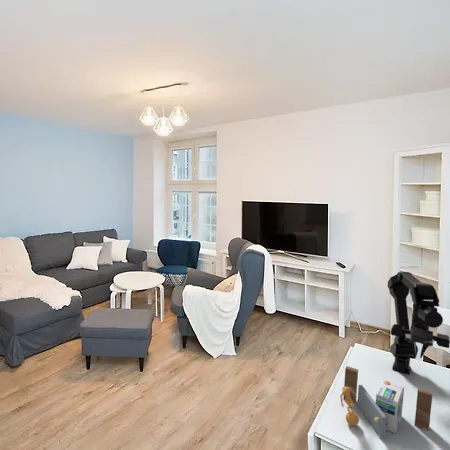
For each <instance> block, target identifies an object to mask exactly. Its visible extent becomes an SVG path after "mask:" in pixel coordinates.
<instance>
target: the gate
mask: <svg viewBox="0 0 450 450" xmlns="http://www.w3.org/2000/svg"><path fill="white" fill-rule="evenodd" d="M356 403H357V405H358V406H359V409H361V411H362V412H363V414H364V415H365V416H366V418H367V420H368V421H369V423H370V424H371V425H372V427H373V428H374V430H375V432H376V433H377V434H378V436H379V438H380V439H385V438H386V429H385V428H386V416H385V415H384V413H383V412H382V411H381V409H380V408H379V407H378V405H377V404H376V400H374V399H373V397H372V396H371V395H370V393H369V392H368V390H367V389H366V388H365V387H364V385H362V384H358V386H357V400H356Z"/></svg>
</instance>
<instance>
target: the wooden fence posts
mask: <svg viewBox="0 0 450 450" xmlns="http://www.w3.org/2000/svg"><path fill="white" fill-rule="evenodd" d="M344 369H345V371H344V383H343V387H350V388H351V389H352V390H353V392H354V393H355V394H356V396H358V378H359V368H355V367H352V366H348V365H346V367H345V368H344ZM353 392H352V391H350V397H351V399H352V401H353V403H354V404H356V403H357V398H356V396H355V394H353ZM433 394H434V393H433V392H432V391H430V390H426V389H422V388H420V387H418V388H417V396H416V405H415V416H414V426H416V427H418V428H421V429H423V430H427V431H430V425H431V423H430V422H431V413H432V405H433V404H432V403H433ZM345 399H346V397H345V395H343V396H342V400H344V401H345Z"/></svg>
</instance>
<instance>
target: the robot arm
mask: <svg viewBox="0 0 450 450" xmlns="http://www.w3.org/2000/svg"><path fill="white" fill-rule="evenodd" d="M387 288H388V291H389V292H388V293H389V294H390V295H391V297H392V298H393V299H394V300H393V301H394V309H395V310H394V311H395V321H396V323H394V324H393V325H392V326H391V329H390V335H391V336H394V338H393V343H392V344H391V345H390V353H391V354H392V357H394V362H393V365H392V370H393V371H397V372H400V373H403V374H407V375H410V374H411V369H412V366H410V363H411V359H415V360H416V358H417V354H418V352H419V347H418V345H417V343H418V344H421V345H422V347H421V350H420V351H421V352H420V356H419V358H420V359H422V358H423V356H424V355H425V352H426V351H427V349H428V348H429V347H433V346H434V342H436V344H437V346H438V347H442V348H446V349H450V336H449V335H447V334H442V333H439V332H437V333H436V335H434V331H431V330H430V328H432V329H433V328H434V329H436V328H439V327H440V326H441V325H443V321H444V319H443V315H442V314H441V313H440V312H438V308H437V307H440V300H439V299H440V298H439V296H438V293H437V290H436V288H435V287H434V285H432V284H431V283H426V282H422V281H420V280H419V279H418V278H416V277H415V276H414V275H413V273H412V272H409V271H408V272H407V271H399V272H397V273H396V274H395V275H393V276H391V277H390V278H389V279H388V280H387ZM409 294H410V297H411V302H413V303H412V311H411V313H412V314H411V315H412V316H411V326H410V320H409V313H408V305H407V304H408V303H407V302H408V301H407V298H408V295H409Z"/></svg>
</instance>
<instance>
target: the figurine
mask: <svg viewBox="0 0 450 450" xmlns="http://www.w3.org/2000/svg"><path fill="white" fill-rule="evenodd" d="M341 390H342V392H341V393H340V397H339V398H340V402H341V404H340V405H341V408H344V403H343V400H344V399H343V397H344V395H345V397H346V399H345V400H344V402H345V403H346V404H347V406H346V408H347V411H348V412H347V413H346V415H345V421H346V423H347V424H348V425H349V426H350V427H351V426H352V427H354V426H355V427H356V426H357V425H358V424H359V421H360V417H359V415H358V414H357V413H356V412H355V411H354V410H353V408H352V407H353V406H355V403H353V401H352V399H351V397H350V391H352V392H353V390H352V389H351V388H350V387H344V386H343V387H342V389H341ZM353 394H355V393H354V392H353ZM355 396H356V399H358V395H356V394H355Z"/></svg>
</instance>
